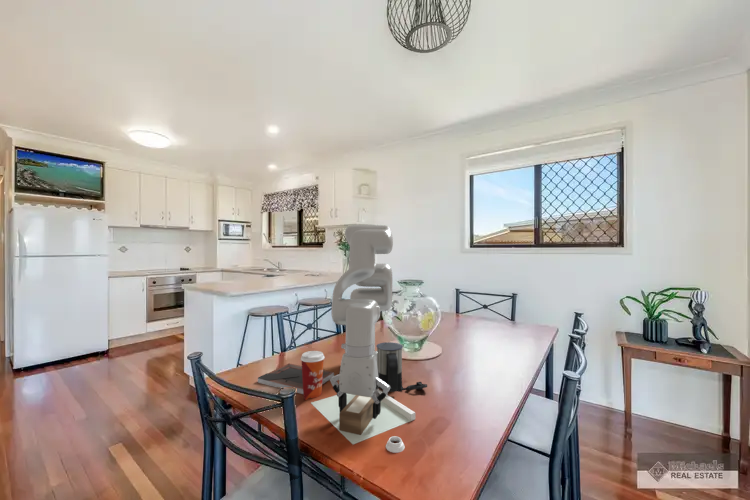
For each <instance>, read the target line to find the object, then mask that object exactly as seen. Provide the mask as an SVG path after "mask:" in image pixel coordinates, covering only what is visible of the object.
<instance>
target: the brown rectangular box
mask: <svg viewBox="0 0 750 500" xmlns="http://www.w3.org/2000/svg"><path fill="white" fill-rule="evenodd" d="M373 403H374V400H373V399H372V398H371V397H364V396H358V395H356V396H355V397H354V398H353V399H352V400H351V401H350V402H349V403H348V404H347V405H346V406H345V407H344V409H343V410H342V411H341V412H340V413H339V430H340V431H344V432H349V433H353V434H358V435H361V434H362V433H363V432H364V430H365V429H366V427H367V426H368V424H369V423H370V422H371V420H372V419H373ZM339 430H338V431H339ZM340 431H339V432H340Z"/></svg>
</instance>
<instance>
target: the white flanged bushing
mask: <svg viewBox="0 0 750 500" xmlns="http://www.w3.org/2000/svg"><path fill="white" fill-rule="evenodd" d="M394 442H396V443H394ZM405 448H406V447H405V444H404V442H403V440H402V438H401V437H399V436H395V435H394V436H391V437H389V439H388V440H387V442H386V444H385V449H386V450H387V451H388V452H390V453H393V454H395V453H396V454H397V453H401V452H403V451H405Z"/></svg>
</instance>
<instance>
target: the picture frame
mask: <svg viewBox="0 0 750 500" xmlns="http://www.w3.org/2000/svg"><path fill="white" fill-rule="evenodd" d="M334 376H335V373H334V371H329V370H324V369H323V379H322V385H324V384H325V383H327V382H328V381H330V379H331V378H332V377H334ZM257 383H258V384H261V385H262V384H263V385H267V386H271V387H274V388H277V387H280V388H279V389H281V387H282V388H284V387H295V388H297V392H296V393H297V394H301V395H303V379H302V365H299V364H294V363H291V362H289V363H286V364H285V365H282V366H280V367H279V368H276V369H274V370H272V371H269V372H268V373H265V374H262V375H260V376H258V377H257Z"/></svg>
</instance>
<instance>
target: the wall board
mask: <svg viewBox="0 0 750 500" xmlns="http://www.w3.org/2000/svg"><path fill="white" fill-rule="evenodd" d="M378 391H379V393H380V394H381V393H382V392H383V390H381V389H379V388H378ZM346 394H347V393H346ZM355 396H356V395H352V394H347V404H348V403H349V402H350V401H351V400H352V399H353V398H354V397H355ZM310 404H311V405H312V406H313V407H314V408H315V409H316V410H317V411H318V412H320V414H321V415H322V416H324V418H325V419H326V420H327V421H328V422H329V423H331V425H333V427H334V428H336V430H337V431H338V432H339V433H340V434H342V436H343V437H345V439H346V440H347V441H349V442H350V444H352V445H355V444H358V443H360V442H363V441H366V440H368V439H370V438H372V437H375V436H378V435H380V434H383V433H385V432H387V431H390V430H392V429H395V428H397V427H400V426H403V425H405V424H407V423H410V422H412V421H415V420H416V412H415V411H414V410H412V409H410V408H409V407H408V406H406V405H404V404H402V403H401V402H399V401H398V400H396V399H394V398H393V397H392V396H390V395H388V394H387V395H386V397H385V398H384V399H383V400H382V401H381V412H380V414H379V415H378V416H377V418H376V419H372V420H371V422H370V423H369V424H368V426H367V427H366V429H365V430H364V432H363V433H362V434H361V435H358V434H353V433H349V432H344V431H340V430H339V413H340V407H339V397H337V394H335V395H332V396H329V397H325V398H321V399H319V400H315V401H311V402H310Z"/></svg>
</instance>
